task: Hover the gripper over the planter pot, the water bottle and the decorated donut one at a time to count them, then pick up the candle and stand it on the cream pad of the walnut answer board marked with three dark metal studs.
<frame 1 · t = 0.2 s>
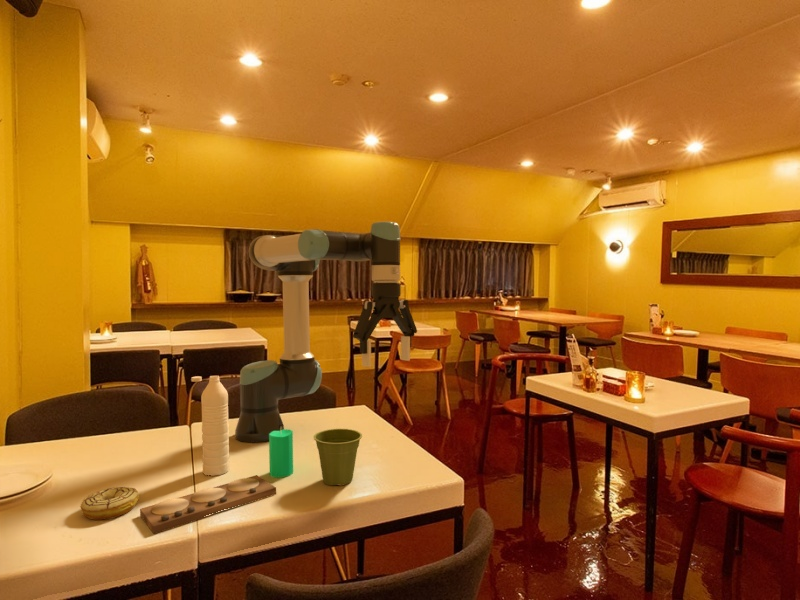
hand: (386, 363, 125), 28 cm above the table, tool pointing down, fingers open, 13 cm apart
decorated donut: (110, 511, 103), on the table
plant pot: (338, 481, 118), on the table
candle: (281, 473, 123), on the table
water bottle: (211, 472, 124), on the table
answer board: (211, 504, 105), on the table
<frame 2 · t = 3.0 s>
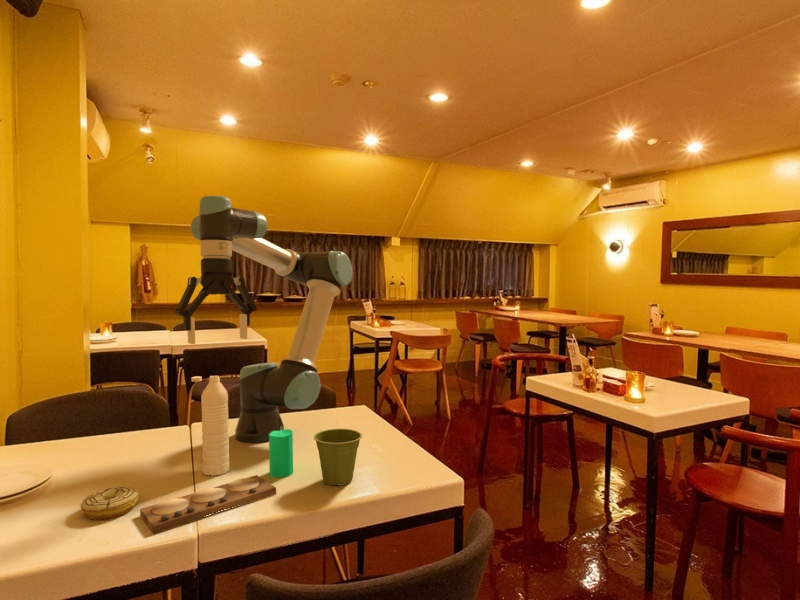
hand: (218, 341, 122), 34 cm above the table, tool pointing down, fingers open, 13 cm apart
nothing on the table moved.
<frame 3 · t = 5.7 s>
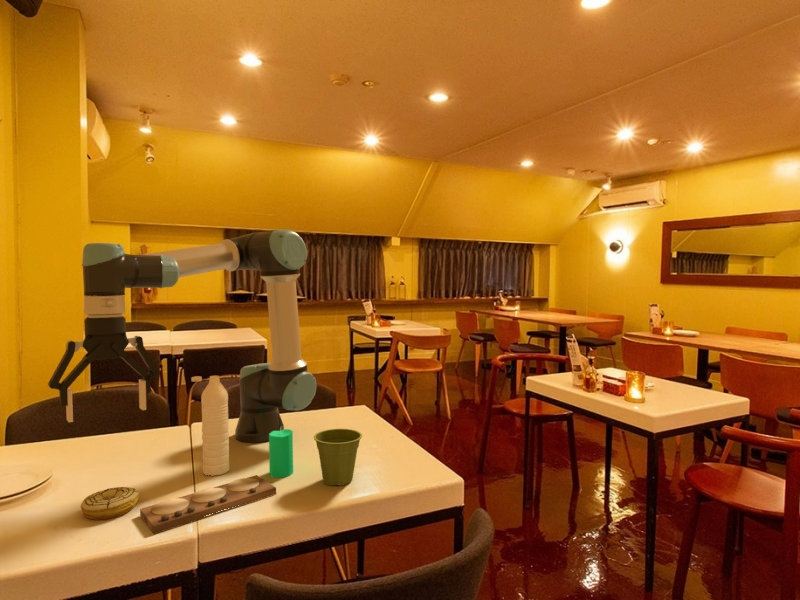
hand: (107, 414, 103), 21 cm above the table, tool pointing down, fingers open, 13 cm apart
nothing on the table moved.
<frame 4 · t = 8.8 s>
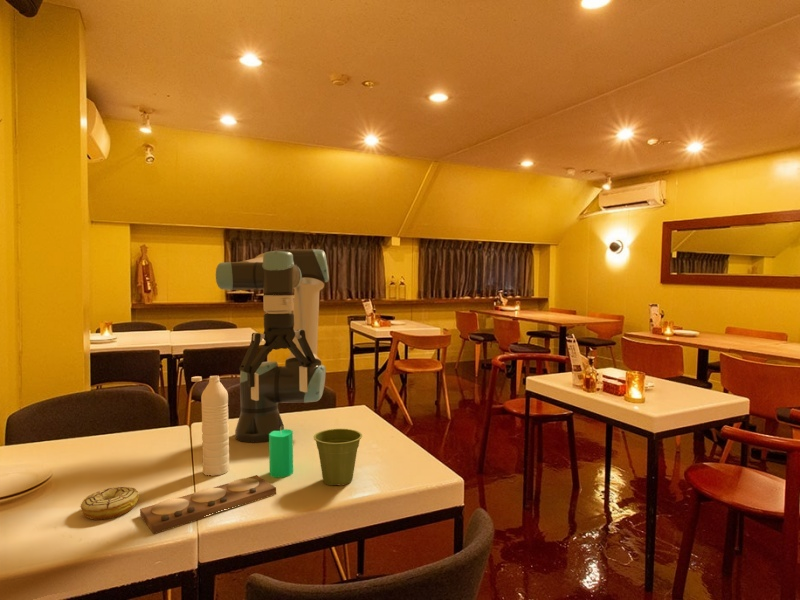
hand: (280, 395, 122), 20 cm above the table, tool pointing down, fingers open, 13 cm apart
nothing on the table moved.
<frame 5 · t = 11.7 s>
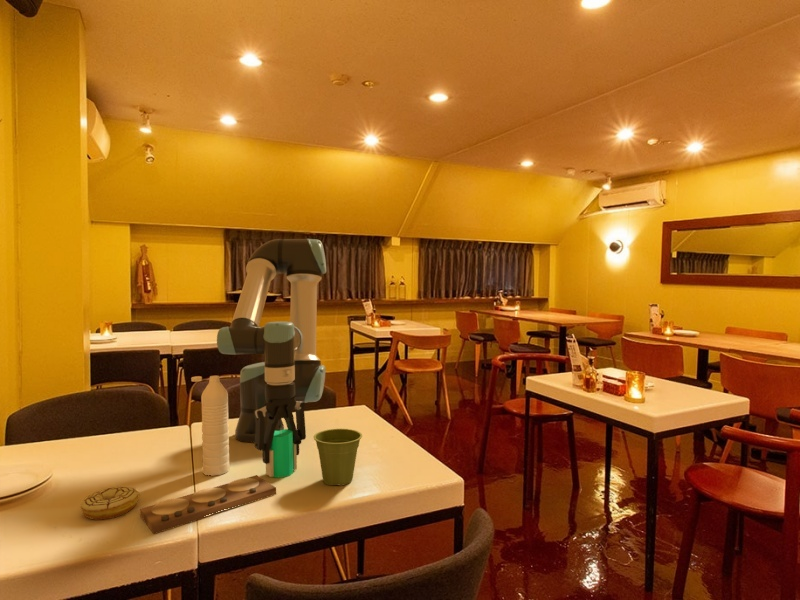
hand: (281, 471, 123), 0 cm above the table, tool pointing down, fingers closed on candle, 6 cm apart
candle: (281, 473, 123), on the table, touching gripper
everything else where it was.
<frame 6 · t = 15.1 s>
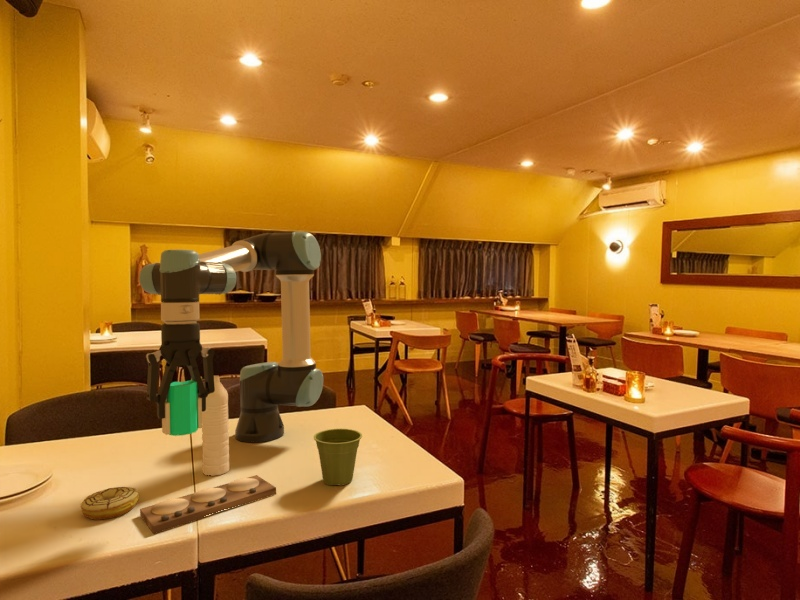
hand: (182, 429, 103), 17 cm above the table, tool pointing down, fingers closed on candle, 6 cm apart
candle: (182, 432, 103), point 17 cm above the table, touching gripper
everything else where it was.
when the fingers open (3 cm above the table, at t = 18.7 s): candle drops 1 cm, resting on answer board.
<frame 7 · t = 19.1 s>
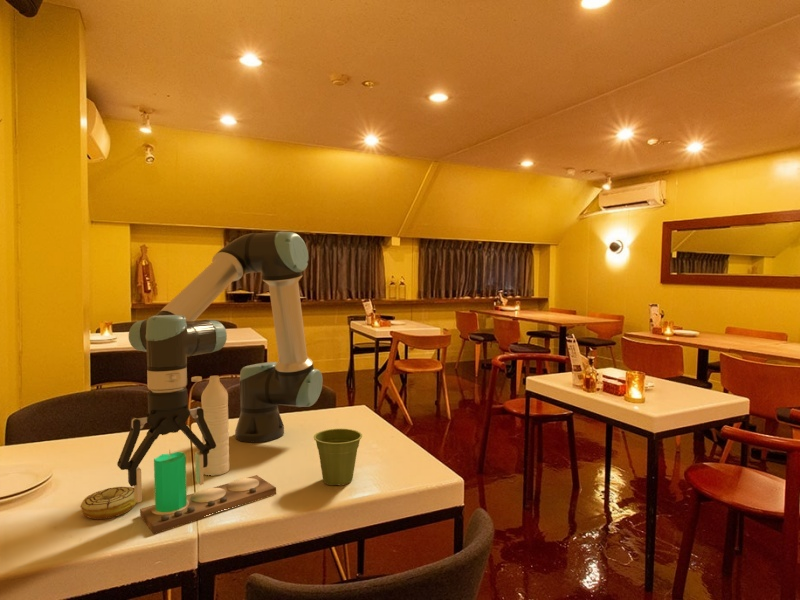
hand: (170, 491, 101), 5 cm above the table, tool pointing down, fingers open, 11 cm apart
candle: (171, 506, 101), point 2 cm above the table, touching answer board
everything else where it was.
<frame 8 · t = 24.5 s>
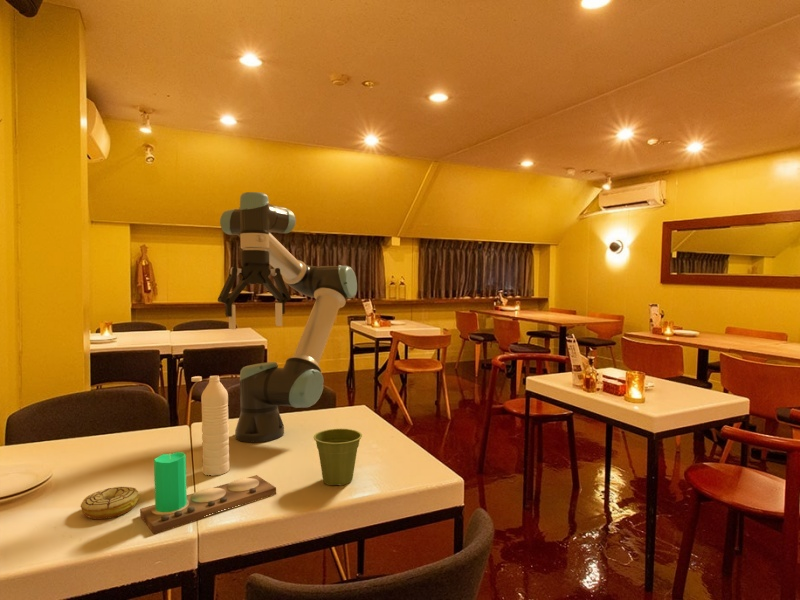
hand: (256, 327, 131), 37 cm above the table, tool pointing down, fingers open, 13 cm apart
nothing on the table moved.
at the end: candle 0.1 cm from the target spot on the answer board, point 1.5 cm above the answer board's base; candle tilted 0°; the gripper is holding nothing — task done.
